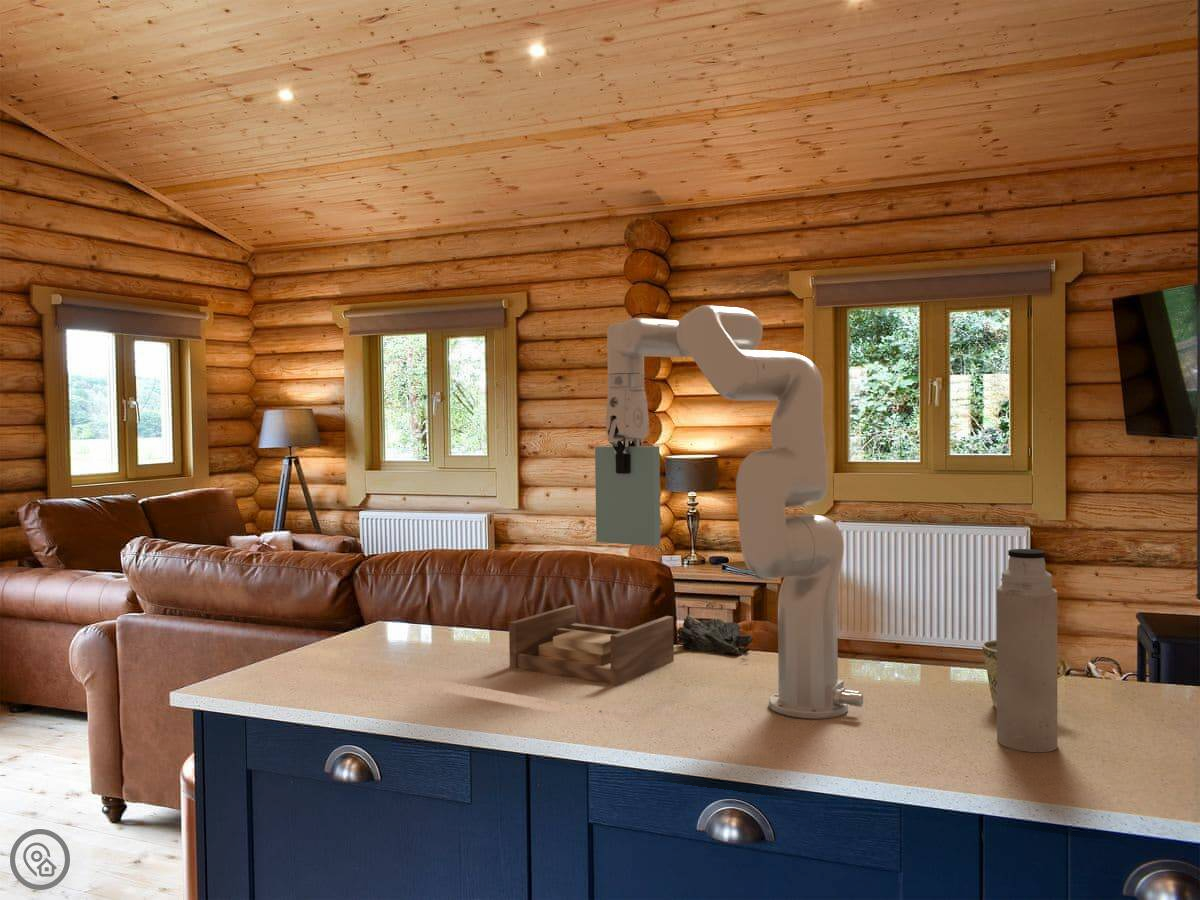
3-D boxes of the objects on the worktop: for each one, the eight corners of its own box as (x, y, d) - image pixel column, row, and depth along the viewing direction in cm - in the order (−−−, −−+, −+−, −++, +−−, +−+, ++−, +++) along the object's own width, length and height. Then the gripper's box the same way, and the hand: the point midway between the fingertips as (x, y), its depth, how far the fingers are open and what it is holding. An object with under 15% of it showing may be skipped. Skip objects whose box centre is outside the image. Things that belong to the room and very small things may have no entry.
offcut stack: (633, 667, 176) (633, 635, 176) (607, 678, 168) (606, 645, 168) (563, 657, 185) (562, 626, 185) (535, 667, 177) (535, 635, 177)
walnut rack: (673, 668, 181) (673, 616, 180) (618, 694, 164) (617, 636, 164) (571, 653, 194) (570, 604, 194) (509, 675, 177) (509, 622, 177)
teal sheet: (660, 544, 192) (659, 446, 192) (654, 545, 190) (653, 446, 190) (602, 540, 200) (601, 446, 199) (596, 542, 198) (595, 446, 197)
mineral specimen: (670, 636, 185) (689, 591, 189) (671, 654, 197) (689, 611, 201) (742, 666, 182) (760, 619, 186) (739, 682, 193) (756, 638, 197)
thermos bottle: (1007, 730, 142) (1007, 544, 141) (1064, 741, 137) (1064, 549, 136) (988, 744, 136) (988, 550, 135) (1047, 756, 131) (1047, 555, 130)
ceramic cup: (970, 707, 154) (970, 646, 154) (1001, 695, 161) (1000, 636, 160) (1050, 725, 144) (1050, 660, 144) (1079, 712, 151) (1079, 650, 150)
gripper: (620, 381, 185) (622, 475, 186) (661, 384, 199) (662, 471, 199) (589, 383, 190) (590, 474, 190) (630, 385, 203) (632, 471, 203)
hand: (627, 472), depth 195 cm, fingers closed on teal sheet, 2 cm apart
